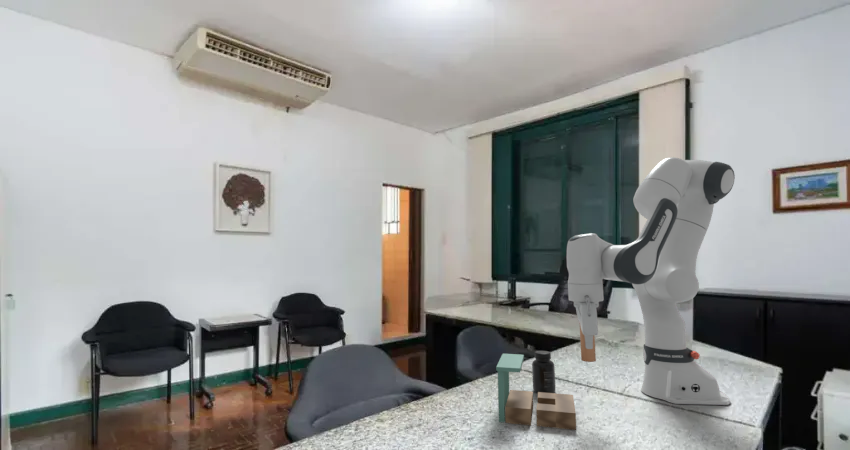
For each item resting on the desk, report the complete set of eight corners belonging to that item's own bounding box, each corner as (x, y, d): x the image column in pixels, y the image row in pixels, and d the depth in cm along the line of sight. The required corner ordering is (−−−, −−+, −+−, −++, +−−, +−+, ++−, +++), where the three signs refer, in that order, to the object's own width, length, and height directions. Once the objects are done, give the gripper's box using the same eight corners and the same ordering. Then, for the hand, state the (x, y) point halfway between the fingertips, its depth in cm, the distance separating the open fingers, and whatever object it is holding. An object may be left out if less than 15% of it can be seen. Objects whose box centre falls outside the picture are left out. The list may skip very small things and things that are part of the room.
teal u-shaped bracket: (525, 404, 121) (523, 354, 122) (521, 425, 107) (520, 368, 108) (503, 402, 123) (502, 353, 124) (497, 422, 108) (496, 366, 109)
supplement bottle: (556, 389, 135) (554, 350, 136) (555, 395, 128) (553, 355, 129) (533, 387, 137) (532, 349, 138) (531, 393, 131) (530, 353, 131)
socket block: (573, 409, 117) (572, 394, 117) (576, 430, 104) (575, 413, 104) (510, 404, 122) (510, 389, 122) (505, 422, 108) (505, 406, 109)
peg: (595, 358, 114) (593, 321, 115) (596, 362, 111) (594, 323, 111) (580, 358, 115) (579, 320, 116) (581, 361, 112) (579, 323, 113)
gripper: (602, 298, 103) (605, 356, 102) (594, 290, 123) (597, 338, 122) (575, 298, 105) (578, 355, 104) (571, 290, 125) (574, 338, 124)
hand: (588, 346), depth 113 cm, fingers closed on peg, 4 cm apart
